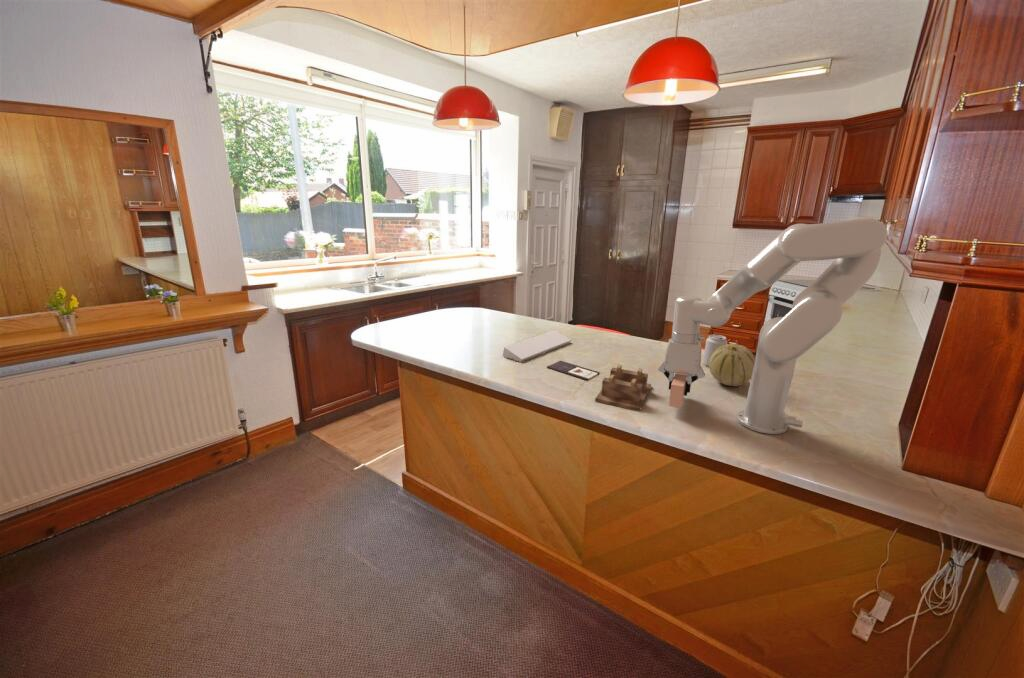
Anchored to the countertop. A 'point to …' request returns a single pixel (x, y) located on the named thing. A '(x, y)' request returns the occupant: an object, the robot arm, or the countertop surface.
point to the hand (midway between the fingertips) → (678, 392)
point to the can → (713, 346)
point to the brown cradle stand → (624, 388)
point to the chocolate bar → (573, 370)
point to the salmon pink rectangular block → (678, 390)
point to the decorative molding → (535, 346)
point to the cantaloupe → (732, 364)
